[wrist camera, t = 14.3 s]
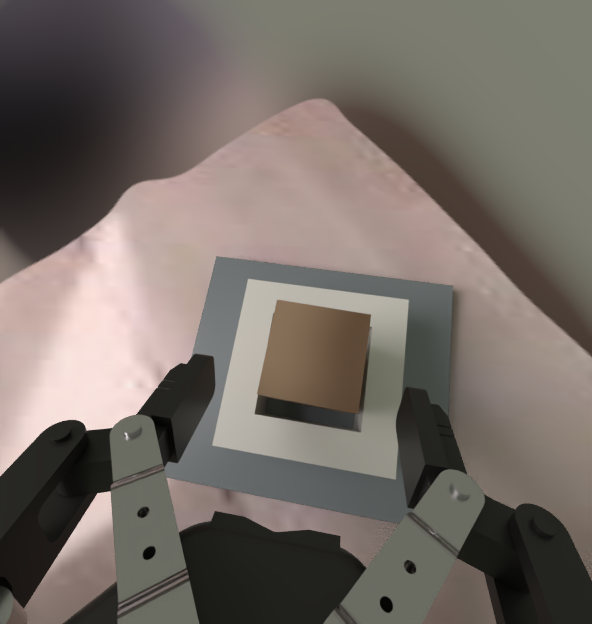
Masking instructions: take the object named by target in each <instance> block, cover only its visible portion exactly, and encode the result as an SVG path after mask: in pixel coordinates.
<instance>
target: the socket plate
mask: <svg viewBox="0 0 592 624" xmlns="http://www.w3.org/2000/svg"><path fill="white" fill-rule="evenodd" d="M452 295H453V286H450V285H442V284H434V283H426V282H418V281H410V280H402V279H394V278H386V277H378V276H370V275H362V274H354V273H346V272H338V271H330V270H322V269H314V268H306V267H298V266H290V265H282V264H274V263H266V262H258V261H250V260H242V259H234V258H226V257H218V256H217V257H216V261H215V265H214V269H213V273H212V277H211V281H210V285H209V289H208V293H207V297H206V301H205V305H204V309H203V313H202V317H201V321H200V325H199V329H198V333H197V337H196V341H195V345H194V349H193V353H192V356H193V355H194V354H196V353H197V354H203V355H210V356H213V357H214V365H215V383H216V385H215V392H214V395H213V398H212V400H211V402H210V404H209V405H208V407H207V409H206V411H205V413H204V415H203V417H202V419H201V421H200V423H199V424H198V426H197V428H196V430H195V432H194V434H193V436H192V438H191V440H190V442H189V443H188V445H187V447H186V449H185V451H184V453H183V455H182V457H181V459H180V461H179V462H178V463H173V462H168V463H167V464H166V466H165V468H164V469H165V474H166V477H167V478H172V479H177V480H182V481H187V482H192V483H197V484H202V485H207V486H212V487H217V488H222V489H227V490H232V491H237V492H242V493H247V494H252V495H257V496H262V497H267V498H272V499H277V500H282V501H287V502H292V503H297V504H302V505H307V506H312V507H317V508H322V509H327V510H332V511H337V512H342V513H347V514H352V515H357V516H362V517H367V518H372V519H377V520H382V521H387V522H392V523H397V524H400V522H401V521H402V520H403V518H404V517H405V516H406V515H407V514H408V513H409V512H410V513H411V512H412V511H413V510H414V509H411V508H407V502H406V495H405V488H404V482H403V475H402V468H401V461H400V454H399V447H398V440H397V434H396V417H397V412H398V409H399V406H400V403H401V399H402V396H403V393H404V390H405V388H406V387H412V388H419V389H425V390H426V391H427V393H428V396H429V400H430V403H431V404H437V405H439V406H440V407H441V408H442V409H443V411H444V412H445V413H446V414H447V416H448V409H449V381H450V352H451V324H452ZM277 300H283V301H289V302H296V303H302V304H308V305H314V306H321V307H327V308H333V309H339V310H346V311H352V312H358V313H364V314H370V315H371V320H370V328H369V336H368V343H367V351H366V359H365V366H364V374H363V382H362V389H361V397H360V405H359V412H358V414H354V413H345V412H338V411H333V410H328V409H323V408H317V407H312V406H307V405H302V404H297V403H292V402H287V401H282V400H278V399H274V398H270V397H266V396H262V395H258V394H257V391H258V387H259V382H260V377H261V373H262V368H263V363H264V359H265V354H266V349H267V344H268V340H269V335H270V330H271V326H272V321H273V316H274V312H275V307H276V302H277ZM191 358H192V357H191Z"/></svg>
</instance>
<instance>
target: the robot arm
mask: <svg viewBox="0 0 592 624" xmlns="http://www.w3.org/2000/svg"><path fill="white" fill-rule="evenodd" d="M215 385H216V383H215V365H214V357H213V356H210V355H203V354H197V353H196V354H194V355H193V356H192V358H191V359H190V360H189V362H188V363H187V364H182V363H181V364H179V365H177V366H176V367H174V368H173V369H171V370H170V371H169V373H168V374H167V375H166V376H165V378H164V380H163V381H162V382H161V383H160V384H159V386H158V388H156V390H155V391H154V392H153V393H152V395H151V396H150V397H149V399H148V400H147V401H146V403H145V404H144V405H143V407H142V408H141V409H140V410H139V412H138V413H137V414H136V415H133V416H129V417H126V418H124V419H122V420H121V421H119V422H118V423H117V424H116V425H115V426H114V427H113V428H109V429H99V430H89V431H86V428H85V425H84V424H83V423H82V422H80V421H77V420H67V421H62V422H59V423H56V424H54V425H52V426H50V427H49V428H47V429H46V430H45V431H43V432H42V433H41V434H40V435H39V436H38V437H37V438H36V440H35V441H34V442H33V443H32V444H31V445H30V446H29V447H28V448H27V449H26V450H25V451H24V452H23V453H22V454H21V455H20V456H19V457H18V458H17V460H16V461H15V462H14V463H13V464H12V465H11V466H10V467H9V468H8V469H7V470H6V471H5V472H4V473H3V474H2V475H1V476H0V624H27V614H26V612H25V610H24V607H25V606H26V604H27V603H28V601H29V600H30V598H31V596H32V595H33V593H34V592H35V590H36V589H37V587H38V585H39V584H40V582H41V581H42V579H43V578H44V576H45V574H46V573H47V571H48V570H49V568H50V567H51V565H52V564H53V562H54V560H55V559H56V557H57V556H58V554H59V553H60V551H61V549H62V548H63V546H64V545H65V543H66V542H67V540H68V538H69V537H70V535H71V534H72V532H73V531H74V529H75V528H76V526H77V524H78V523H79V521H80V520H81V518H82V517H83V515H84V513H85V512H86V510H87V509H88V507H89V506H90V504H91V502H92V501H93V499H94V498H95V496H96V495H97V493H101V492H109V491H111V503H112V517H113V532H114V547H115V561H116V576H117V581H116V582H115V583H114V584H112V585H111V586H110V587H109V588H107V589H106V590H105V591H104V592H102V593H101V594H100V595H99V596H97V597H96V598H95V599H93V600H92V601H91V602H90V603H88V604H87V605H86V606H85V607H83V608H82V609H81V610H80V611H78V612H77V613H76V614H74V615H73V616H72V617H71V618H69V619H68V620H67V621H66V622H64V623H63V624H422V622H423V620H424V619H425V617H426V615H427V613H428V611H429V609H430V607H431V605H432V604H433V602H434V600H435V598H436V596H437V594H438V592H439V590H440V588H441V587H442V585H443V583H444V581H445V579H446V577H447V575H448V573H449V572H450V570H451V568H452V566H453V564H454V562H455V560H456V558H458V559H460V560H462V561H464V562H466V563H467V564H469V565H471V566H473V567H475V568H477V569H478V570H480V571H482V572H484V574H485V578H486V582H487V586H488V590H489V594H490V598H491V602H492V606H493V610H494V614H495V619H496V623H497V624H592V581H591V579H590V577H589V575H588V572H587V570H586V568H585V566H584V564H583V562H582V560H581V558H580V556H579V554H578V552H577V550H576V548H575V546H574V543H573V541H572V539H571V537H570V535H569V533H568V531H567V530H566V528H565V527H564V525H563V524H562V523H561V522H560V521H559V520H558V519H557V518H556V517H555V516H554V515H553V514H551V513H550V512H548V511H547V510H545V509H543V508H542V507H539V506H537V505H533V504H521V505H519V506H518V507H517V508H516V510H514V509H512V508H510V507H508V506H506V505H504V504H501V503H499V502H497V501H495V500H493V499H491V498H489V497H487V496H486V495H484V493H483V491H482V489H481V488H480V486H479V485H478V484H477V482H476V481H475V480H474V479H472V478H471V477H470V476H468V475H467V472H466V469H465V466H464V463H463V460H462V457H461V454H460V451H459V448H458V445H457V442H456V439H454V433H453V430H452V429H451V425H450V422H449V419H448V416H447V414H446V413H445V412H444V411H443V409H442V408H441V407H440V406H439V405H437V404H431V403H430V400H429V396H428V393H427V391H426V390H425V389H419V388H412V387H406V388H405V390H404V393H403V396H402V399H401V403H400V406H399V409H398V412H397V417H396V434H397V440H398V447H399V454H400V461H401V468H402V475H403V482H404V488H405V495H406V502H407V508H411V509H414V510H413V511H412V512H411V513H410V512H409V513H408V514H407V515H406V516H405V517H404V518H403V520H402V521H401V522H400V524H399V525H398V527H397V528H396V529H395V531H394V532H393V533H392V535H391V536H390V537H389V539H388V540H387V541H386V543H385V544H384V545H383V547H382V548H381V550H380V551H379V552H378V554H377V555H376V556H375V558H374V559H373V560H372V562H371V563H370V564H369V566H368V567H367V568H366V567H365V566H364V565H363V564H362V563H361V562H360V561H359V560H358V559H357V558H356V557H355V556H353V555H352V554H351V553H349V552H348V551H346V550H345V549H343V548H341V547H340V536H337V535H332V534H327V533H322V532H317V531H312V530H301V531H288V532H273V531H271V530H269V529H267V528H265V527H263V526H261V525H259V524H257V523H255V522H253V521H252V520H250V519H248V518H246V517H242V516H237V515H232V514H227V513H222V512H217V511H215V513H214V515H213V518H212V521H209V522H203V523H199V524H196V525H193V526H191V527H188V528H186V529H184V530H182V531H181V532H178V527H177V523H176V519H175V514H174V510H173V505H172V501H171V496H170V492H169V487H168V483H167V478H166V474H165V469H164V468H165V466H166V464H167V463H168V462H173V463H178V462H179V461H180V459H181V457H182V455H183V453H184V451H185V449H186V447H187V445H188V443H189V442H190V440H191V438H192V436H193V434H194V432H195V430H196V428H197V426H198V424H199V423H200V421H201V419H202V417H203V415H204V413H205V411H206V409H207V407H208V405H209V404H210V402H211V400H212V398H213V395H214V392H215Z"/></svg>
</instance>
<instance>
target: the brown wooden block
mask: <svg viewBox="0 0 592 624" xmlns="http://www.w3.org/2000/svg"><path fill="white" fill-rule="evenodd" d="M370 320H371V315H370V314H364V313H358V312H352V311H346V310H339V309H333V308H327V307H321V306H314V305H308V304H302V303H296V302H289V301H283V300H277V302H276V307H275V312H274V316H273V321H272V326H271V330H270V335H269V340H268V344H267V349H266V354H265V359H264V363H263V368H262V373H261V377H260V382H259V387H258V391H257V394H258V395H262V396H266V397H270V398H274V399H278V400H282V401H287V402H292V403H297V404H302V405H307V406H312V407H317V408H323V409H328V410H333V411H338V412H345V413H354V414H358V412H359V405H360V397H361V389H362V382H363V374H364V366H365V359H366V351H367V343H368V336H369V328H370Z"/></svg>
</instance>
